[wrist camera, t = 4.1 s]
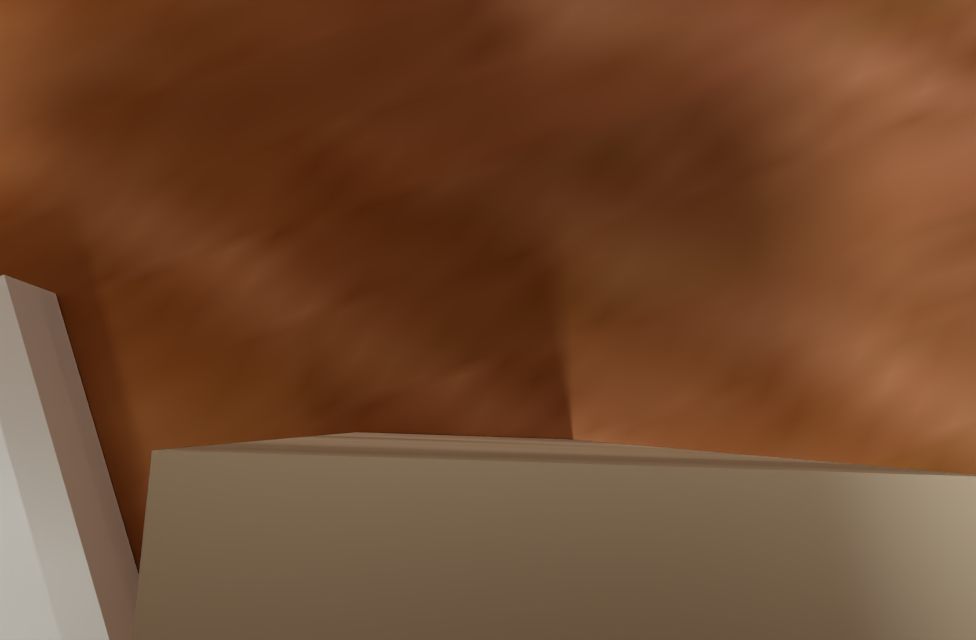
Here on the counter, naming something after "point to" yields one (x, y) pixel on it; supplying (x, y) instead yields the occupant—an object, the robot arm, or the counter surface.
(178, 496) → the beech block
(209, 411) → the counter surface
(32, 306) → the tray
